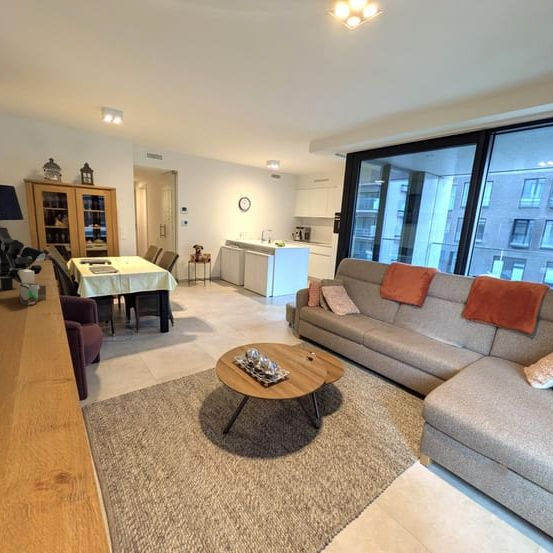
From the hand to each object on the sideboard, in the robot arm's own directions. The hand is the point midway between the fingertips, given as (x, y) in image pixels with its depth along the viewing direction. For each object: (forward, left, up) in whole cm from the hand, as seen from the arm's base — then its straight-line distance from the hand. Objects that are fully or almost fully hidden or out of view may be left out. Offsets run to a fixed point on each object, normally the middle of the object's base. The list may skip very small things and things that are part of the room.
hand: (26, 282), depth 164 cm
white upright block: (+1, 0, -7) cm, 7 cm away
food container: (+16, -4, -8) cm, 18 cm away
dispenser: (+10, -1, -8) cm, 13 cm away
